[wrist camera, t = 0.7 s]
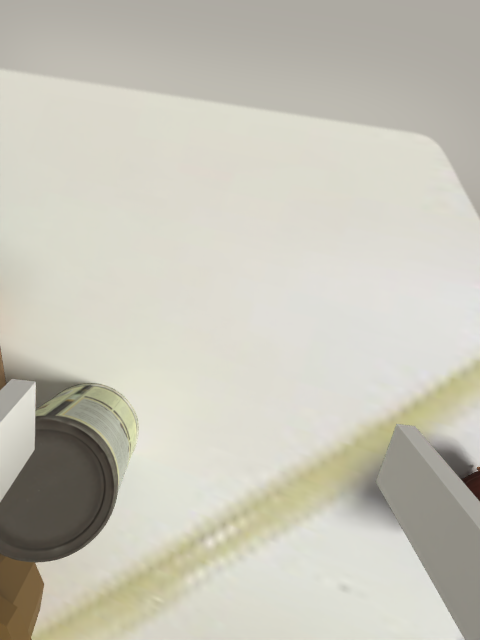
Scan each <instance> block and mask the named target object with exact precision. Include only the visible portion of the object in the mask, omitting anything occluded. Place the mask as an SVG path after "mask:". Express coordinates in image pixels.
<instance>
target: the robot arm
mask: <svg viewBox="0 0 480 640" xmlns="http://www.w3.org/2000/svg"><path fill="white" fill-rule="evenodd" d="M35 402H36V382H35V381H26V380H18V379H11V380H10V381H9V382H8V383H7V384H6V385H5V386H4V387H3V388H2V389H1V390H0V502H1V500H2V499H3V497H4V496H5V494H6V493H7V491H8V490H9V488H10V487H11V485H12V483H13V482H14V480H15V479H16V477H17V476H18V474H19V473H20V471H21V470H22V468H23V467H24V465H25V463H26V462H27V460H28V459H29V457H30V456H31V454H32V453H33V451H34V450H35ZM376 483H377V485H378V487H379V488H380V490H381V492H382V494H383V496H384V497H385V499H386V501H387V503H388V504H389V506H390V508H391V510H392V511H393V513H394V515H395V517H396V519H397V520H398V522H399V524H400V526H401V527H402V529H403V531H404V533H405V534H406V536H407V538H408V540H409V542H410V543H411V545H412V547H413V549H414V550H415V552H416V554H417V556H418V557H419V559H420V561H421V563H422V565H423V566H424V568H425V570H426V572H427V573H428V575H429V577H430V579H431V580H432V582H433V584H434V586H435V588H436V589H437V591H438V593H439V595H440V596H441V598H442V600H443V602H444V603H445V605H446V607H447V609H448V611H449V612H450V614H451V616H452V618H453V619H454V621H455V623H456V625H457V626H458V628H459V630H460V632H461V634H462V635H463V637H464V639H465V640H480V501H479V500H478V499H477V498H476V497H475V495H474V494H473V493H472V492H471V491H470V490H469V488H468V487H467V486H466V485H465V484H464V483H463V481H462V480H461V479H460V478H459V477H458V476H457V474H456V473H455V472H454V471H453V470H452V469H451V467H450V466H449V465H448V464H447V463H446V462H445V460H444V459H443V458H442V457H441V456H440V455H439V453H438V452H437V451H436V450H435V449H434V448H433V446H432V445H431V444H430V443H429V442H428V441H427V439H426V438H425V437H424V436H423V435H422V434H421V432H420V431H419V430H418V429H417V428H416V427H415V426H410V425H401V424H396V427H395V430H394V433H393V435H392V438H391V441H390V444H389V446H388V449H387V452H386V455H385V458H384V460H383V463H382V466H381V469H380V471H379V474H378V477H377V480H376Z"/></svg>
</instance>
